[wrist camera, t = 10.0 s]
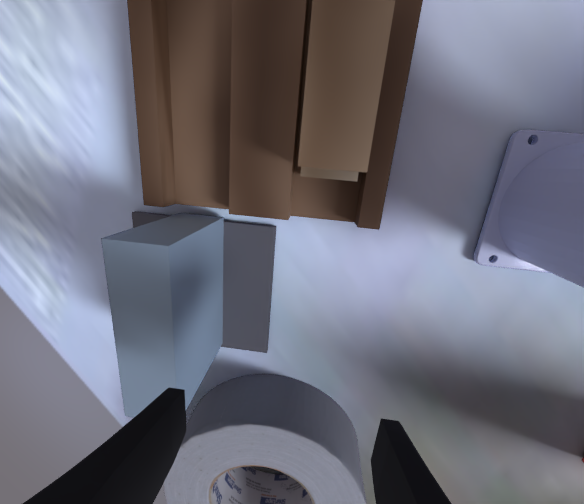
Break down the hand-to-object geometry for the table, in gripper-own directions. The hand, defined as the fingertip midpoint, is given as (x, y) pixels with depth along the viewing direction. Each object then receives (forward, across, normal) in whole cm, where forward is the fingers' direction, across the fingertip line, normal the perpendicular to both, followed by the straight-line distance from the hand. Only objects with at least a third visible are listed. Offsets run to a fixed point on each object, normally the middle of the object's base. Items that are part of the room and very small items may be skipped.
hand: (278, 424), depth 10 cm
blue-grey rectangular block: (+10, +7, 0) cm, 12 cm away
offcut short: (+7, -1, -12) cm, 14 cm away
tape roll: (+11, +1, +15) cm, 19 cm away
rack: (+10, +3, -13) cm, 17 cm away
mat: (+10, +7, 0) cm, 13 cm away
